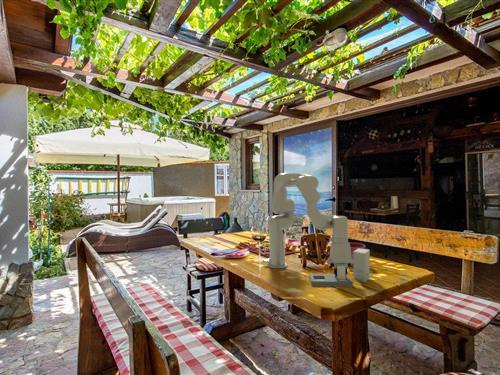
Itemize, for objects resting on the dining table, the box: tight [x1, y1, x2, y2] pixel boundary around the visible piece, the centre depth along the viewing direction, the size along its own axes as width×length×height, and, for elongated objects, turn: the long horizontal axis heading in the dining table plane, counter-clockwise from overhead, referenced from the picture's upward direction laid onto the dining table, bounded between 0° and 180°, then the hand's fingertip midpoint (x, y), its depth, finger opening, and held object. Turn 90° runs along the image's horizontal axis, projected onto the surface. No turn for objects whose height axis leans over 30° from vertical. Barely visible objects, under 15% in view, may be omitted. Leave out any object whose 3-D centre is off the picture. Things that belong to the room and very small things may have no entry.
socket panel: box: [308, 273, 354, 287], centre depth 153 cm, size 20×12×3 cm, turn 85°
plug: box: [336, 263, 346, 280], centre depth 152 cm, size 4×4×9 cm
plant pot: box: [348, 242, 366, 268], centre depth 184 cm, size 14×14×13 cm
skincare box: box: [352, 248, 371, 283], centre depth 158 cm, size 8×7×16 cm
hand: (340, 275), depth 153 cm, fingers closed on plug, 3 cm apart
